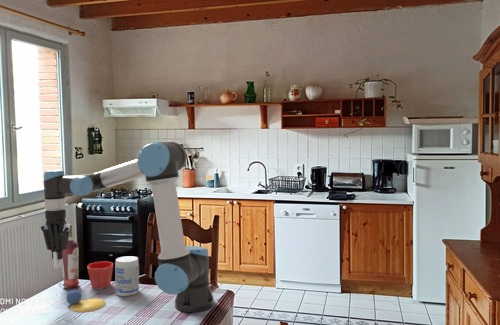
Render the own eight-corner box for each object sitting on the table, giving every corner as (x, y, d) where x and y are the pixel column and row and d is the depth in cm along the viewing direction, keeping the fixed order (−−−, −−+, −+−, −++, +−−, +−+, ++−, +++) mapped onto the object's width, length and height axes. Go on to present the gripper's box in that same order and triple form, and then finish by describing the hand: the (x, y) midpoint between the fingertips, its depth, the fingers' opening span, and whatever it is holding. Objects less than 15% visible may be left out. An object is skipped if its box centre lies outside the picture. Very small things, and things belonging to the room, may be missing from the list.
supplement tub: (114, 297, 181) (113, 262, 180) (117, 289, 191) (116, 256, 190) (138, 296, 183) (137, 261, 182) (140, 288, 192) (139, 255, 191)
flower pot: (106, 291, 189) (105, 268, 188) (83, 289, 191) (82, 267, 191) (118, 282, 199) (117, 261, 199) (96, 281, 202) (95, 260, 201)
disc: (107, 308, 170) (107, 307, 170) (71, 314, 165) (71, 314, 164) (103, 297, 182) (103, 296, 182) (69, 302, 176) (69, 302, 176)
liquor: (72, 290, 190) (70, 226, 188) (58, 288, 192) (56, 225, 190) (83, 284, 197) (81, 223, 195) (70, 283, 199) (67, 222, 197)
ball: (63, 297, 176) (71, 308, 175) (63, 295, 171) (71, 306, 171) (75, 288, 179) (84, 299, 178) (76, 285, 174) (84, 296, 173)
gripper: (75, 207, 176) (77, 265, 178) (48, 206, 180) (50, 263, 181) (62, 211, 169) (65, 271, 171) (34, 209, 172) (37, 268, 174)
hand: (57, 267), depth 176 cm, fingers closed
